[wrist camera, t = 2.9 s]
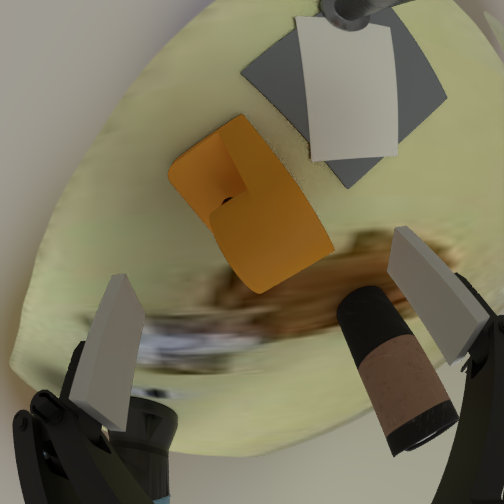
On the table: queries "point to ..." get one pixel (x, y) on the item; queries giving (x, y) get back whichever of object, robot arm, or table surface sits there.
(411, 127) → the mat
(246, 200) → the bracket
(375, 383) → the travel mug
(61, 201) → the table surface
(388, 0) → the grey smooth fixture
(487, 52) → the table surface
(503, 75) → the table surface
